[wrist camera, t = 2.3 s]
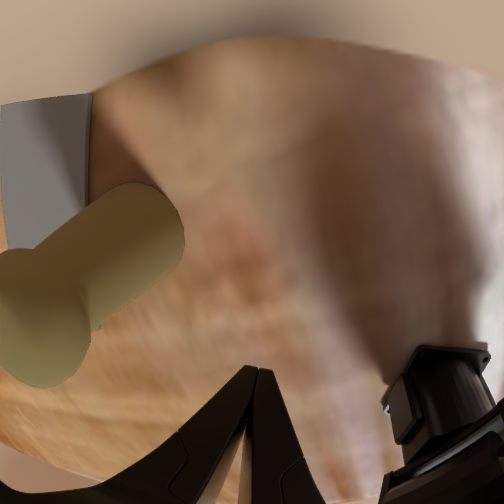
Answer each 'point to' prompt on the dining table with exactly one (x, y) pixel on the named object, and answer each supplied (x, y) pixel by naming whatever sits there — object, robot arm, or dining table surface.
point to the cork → (83, 280)
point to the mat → (43, 165)
